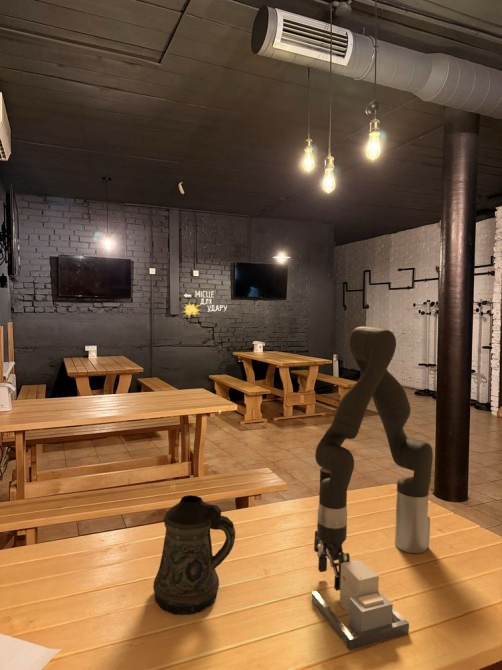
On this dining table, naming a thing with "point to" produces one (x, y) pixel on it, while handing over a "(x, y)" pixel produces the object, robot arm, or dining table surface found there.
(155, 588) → the beer stein
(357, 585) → the small box
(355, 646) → the rail
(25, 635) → the dining table surface
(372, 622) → the block
